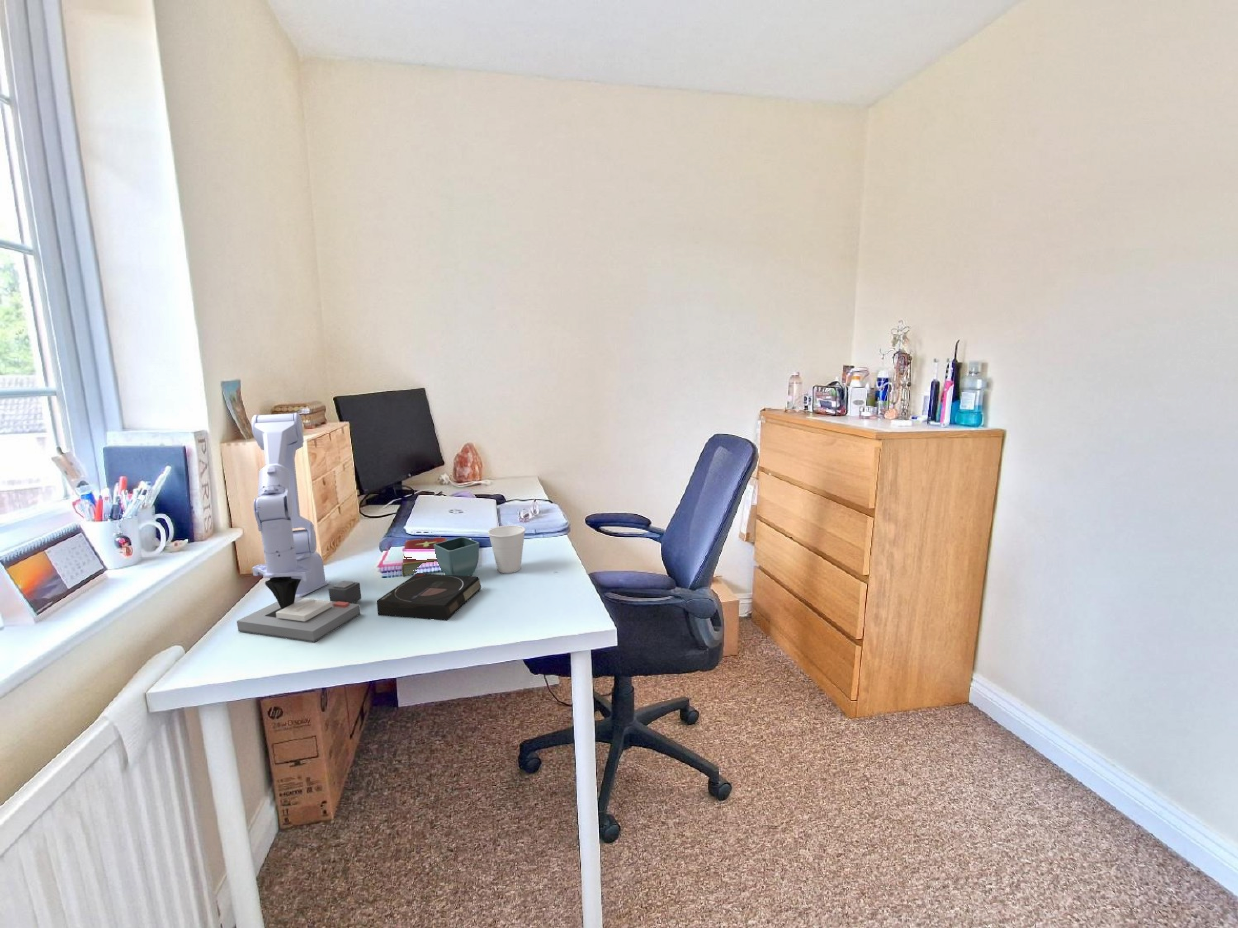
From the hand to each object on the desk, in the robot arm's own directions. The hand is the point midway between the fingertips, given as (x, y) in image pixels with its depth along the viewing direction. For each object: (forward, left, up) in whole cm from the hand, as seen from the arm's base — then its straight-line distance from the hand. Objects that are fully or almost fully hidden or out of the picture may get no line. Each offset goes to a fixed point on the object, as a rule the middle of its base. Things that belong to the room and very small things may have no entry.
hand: (287, 608), depth 121 cm
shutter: (0, +5, 0) cm, 5 cm away
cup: (-39, +33, -3) cm, 51 cm away
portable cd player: (-16, +25, -4) cm, 30 cm away
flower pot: (-32, +22, -3) cm, 39 cm away
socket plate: (0, +3, -3) cm, 4 cm away
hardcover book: (-40, +6, -4) cm, 41 cm away
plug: (-10, +6, -3) cm, 12 cm away
